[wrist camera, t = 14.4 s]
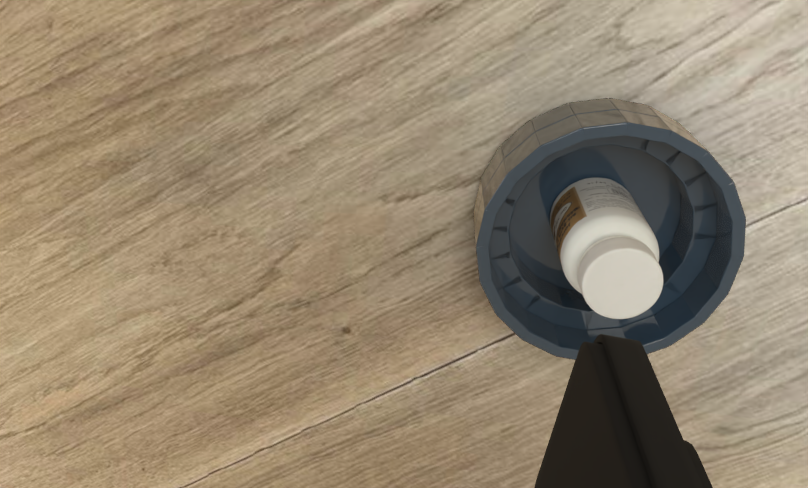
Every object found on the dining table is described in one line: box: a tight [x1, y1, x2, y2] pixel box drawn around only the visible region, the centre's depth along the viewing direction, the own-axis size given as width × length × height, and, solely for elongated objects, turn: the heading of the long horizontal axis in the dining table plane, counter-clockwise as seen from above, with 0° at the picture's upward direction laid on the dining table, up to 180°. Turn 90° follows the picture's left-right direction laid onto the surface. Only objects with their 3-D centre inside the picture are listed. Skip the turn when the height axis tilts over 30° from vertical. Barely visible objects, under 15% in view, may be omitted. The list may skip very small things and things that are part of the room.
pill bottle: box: [550, 178, 663, 319], centre depth 35 cm, size 4×4×8 cm
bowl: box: [473, 98, 746, 360], centre depth 37 cm, size 12×12×5 cm
